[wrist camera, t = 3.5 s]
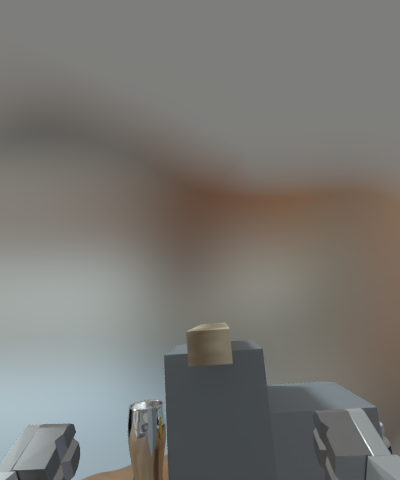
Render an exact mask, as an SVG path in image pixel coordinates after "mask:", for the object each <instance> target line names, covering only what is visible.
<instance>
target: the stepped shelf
mask: <svg viewBox="0 0 400 480" xmlns="http://www.w3.org/2000/svg"><path fill="white" fill-rule="evenodd" d="M231 349H232V360H233V364H220V365H204V366H188V354H187V344H182V345H178V346H177V347H175V348H174V349H172V350H171V351H169V352H168V353H167V354H165V355H164V363H165V389H166V416H167V417H166V418H167V447H168V474H169V480H325V470H324V469H323V468H322V467H321V466H320V465H319V462H318V459H317V456H316V453H315V448H314V442H313V431H314V430H315V428H316V427H315V424H314V421H313V413H314V411H322V410H338V409H344V410H345V409H355V408H361V409H363V410H364V411H365V413H366V415H367V416H368V418H369V419H370V421H371V423H372V424H373V426H374V427H375V429H376V431H377V432H378V434H379V435H380V437H381V439H382V440H383V437H382V432H381V427H380V422H379V417H378V412H377V408H376V407H375V406H374V405H372V404H370V403H368V402H367V401H365V400H363V399H362V398H360V397H358V396H356V395H355V394H353V393H351V392H350V391H348V390H346V389H344V388H343V387H341V386H339V385H338V384H336V383H334V382H332V381H326V382H309V383H292V384H275V385H267V384H266V375H265V366H264V357H263V350H262V348H261V347H259V346H258V345H257V344H256V343H254V342H253V341H252V340H241V341H231Z"/></svg>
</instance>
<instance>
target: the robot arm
mask: <svg viewBox="0 0 400 480" xmlns="http://www.w3.org/2000/svg"><path fill="white" fill-rule="evenodd" d="M313 421H314V424H315V427H316V428H315V430H314V431H313V442H314V448H315V453H316V456H317V459H318V462H319V465H320V466H321V467H322V468H323V469H324V470H325V480H400V457H399V456H398V455H392V454H391V453H390V451H389V450H388V448H387V446H386V445H385V443H384V442H383V440H382V439H381V437H380V435H379V434H378V432H377V431H376V429H375V427H374V426H373V424H372V423H371V421H370V419H369V418H368V416H367V415H366V413H365V411H364V410H363V409H361V408H355V409H345V410H344V409H338V410H322V411H314V413H313ZM75 433H76V431H75V427H74V425H73V424H43V425H29V426H27V427H26V428H25V429H24V430H23V431H22V433H21V434H20V436H19V437H18V439H17V440H16V442H15V443H14V444H13V446H12V447H11V449H10V450H9V452H8V453H7V455H6V456H5V457H4V459H3V460H2V462H1V463H0V480H71V479H72V478H73V477H74V475H75V473H76V470H77V468H78V464H79V459H80V447H79V443H78V442H77V441H76V440H75V439H74V438H73V437H74V435H75Z"/></svg>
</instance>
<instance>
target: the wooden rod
mask: <svg viewBox="0 0 400 480" xmlns="http://www.w3.org/2000/svg"><path fill="white" fill-rule="evenodd" d="M186 334H187V354H188V366H204V365H220V364H233V360H232V349H231V338H230V329H229V327H228V326H227V324H226V323H216V324H202V325H199V326H197V327H195V328H193V329H191V330H189V331H187V332H186Z"/></svg>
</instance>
